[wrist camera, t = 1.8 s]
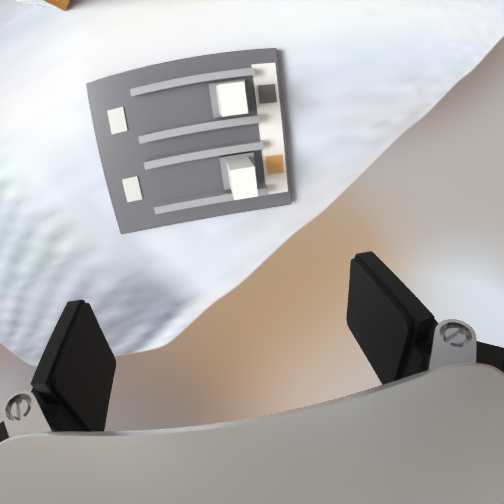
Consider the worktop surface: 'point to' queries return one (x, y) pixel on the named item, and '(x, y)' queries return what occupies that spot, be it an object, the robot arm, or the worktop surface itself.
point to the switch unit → (188, 138)
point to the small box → (48, 3)
